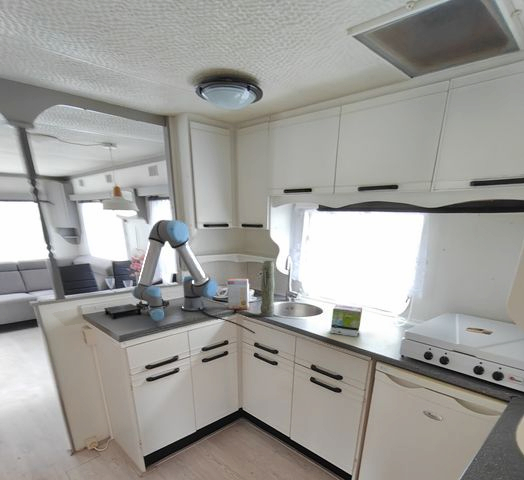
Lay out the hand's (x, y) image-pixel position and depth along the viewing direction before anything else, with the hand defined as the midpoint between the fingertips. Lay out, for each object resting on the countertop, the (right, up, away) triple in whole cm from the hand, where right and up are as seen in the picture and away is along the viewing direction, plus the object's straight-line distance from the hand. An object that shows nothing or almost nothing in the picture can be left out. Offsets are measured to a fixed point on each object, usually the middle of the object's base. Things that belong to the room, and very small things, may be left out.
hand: (151, 301), depth 217 cm
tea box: (+122, -23, -31) cm, 128 cm away
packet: (+1, -8, 0) cm, 8 cm away
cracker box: (+57, -3, +14) cm, 59 cm away
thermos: (+78, -9, 0) cm, 78 cm away
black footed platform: (-18, -9, -2) cm, 20 cm away
